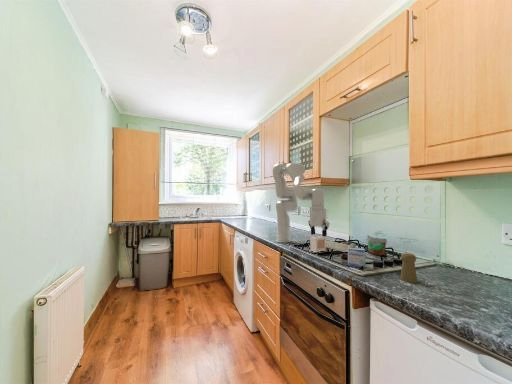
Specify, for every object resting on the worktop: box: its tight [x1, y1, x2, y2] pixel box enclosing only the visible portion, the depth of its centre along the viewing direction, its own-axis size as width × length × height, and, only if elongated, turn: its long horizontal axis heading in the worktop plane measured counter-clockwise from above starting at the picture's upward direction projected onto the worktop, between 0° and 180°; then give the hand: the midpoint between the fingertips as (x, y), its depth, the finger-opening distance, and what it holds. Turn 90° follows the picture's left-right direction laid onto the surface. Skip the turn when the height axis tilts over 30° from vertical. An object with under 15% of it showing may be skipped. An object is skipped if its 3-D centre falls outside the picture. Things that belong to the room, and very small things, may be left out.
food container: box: [365, 235, 388, 257], centre depth 134 cm, size 12×6×10 cm, turn 25°
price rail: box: [325, 239, 356, 253], centre depth 147 cm, size 30×2×6 cm, turn 30°
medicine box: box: [347, 247, 366, 269], centre depth 112 cm, size 8×4×9 cm, turn 68°
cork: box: [399, 252, 418, 284], centre depth 93 cm, size 6×6×11 cm
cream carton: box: [309, 235, 326, 253], centre depth 141 cm, size 5×8×9 cm, turn 120°
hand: (318, 235), depth 141 cm, fingers open, 9 cm apart
